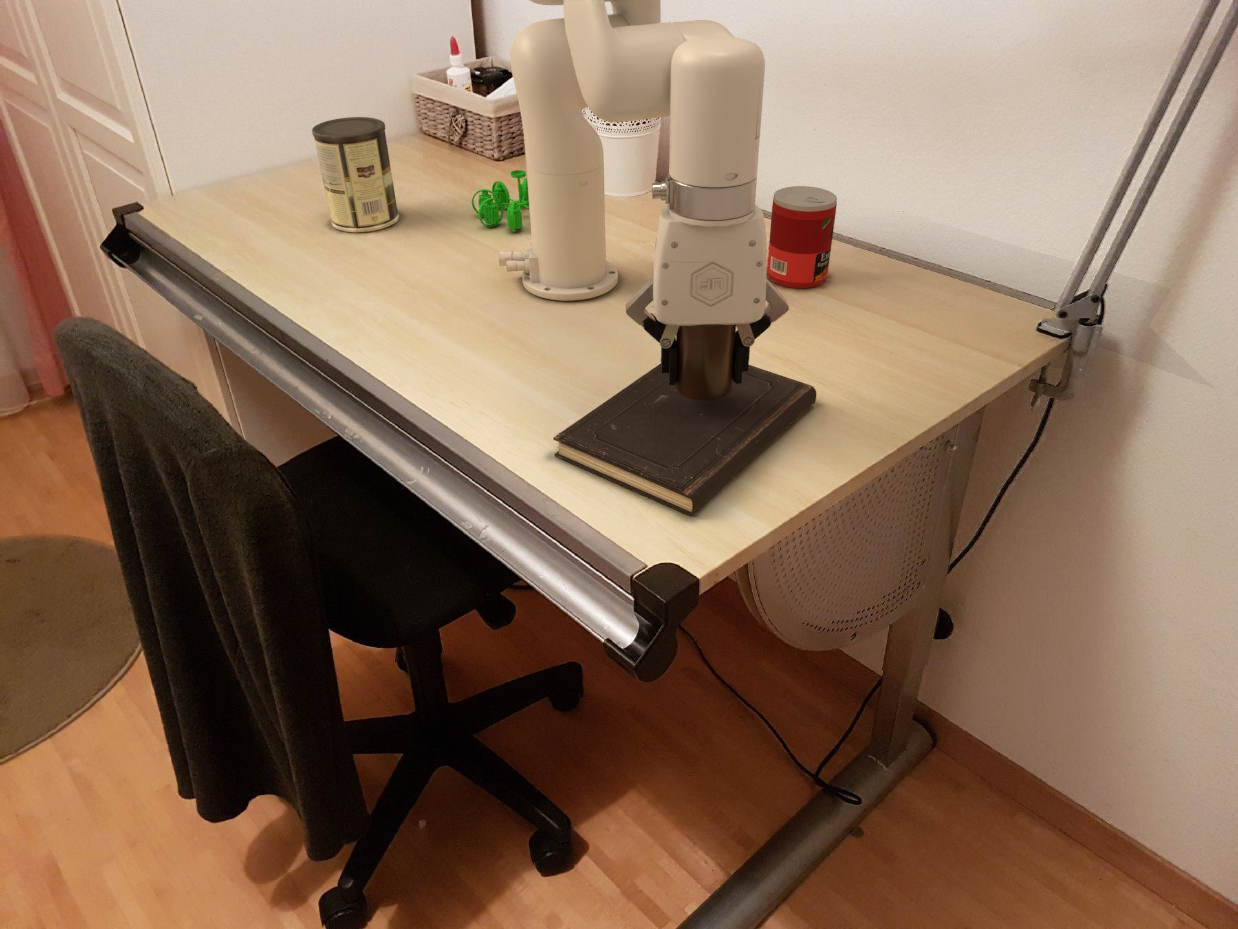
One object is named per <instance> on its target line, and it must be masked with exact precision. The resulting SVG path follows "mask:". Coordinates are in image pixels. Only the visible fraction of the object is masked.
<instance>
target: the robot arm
mask: <svg viewBox="0 0 1238 929" xmlns="http://www.w3.org/2000/svg"><path fill="white" fill-rule="evenodd" d="M529 1H530V2H532V3H534V4H536V5H541V6H563V17H559V18H550V19H545V20H540V21H539V20H538V21H536V22H532V23H530V24H528V25H526V26H525V27H523V28H522V29H521V30H519V32H518V33H516V35H515V36H514V37H513V40H512V42H511V46H510V50H509V51H510V52H509V54H510V55H509V57H510V69H511V74H512V79H513V83H514V87H515V92H516V96H517V101H518V105H519V111H520V117H521V118H520V119H521V123H522V124H521V125H522V132H523V142H524V143H523V144H524V155H525V165H526V166H525V167H526V178H527V182H528V196H529V206H528V207H529V208H528V210H529V223H530V236H531V237H530V238H531V239H530V240H531V241H530V246H529V247H528V248H523V249H522V251H513V250H499V251H498V265H499V267H506V272H509V273H511V272H522V276H521V278H522V280H521V281H522V285H523V287H524V289H525V290H526V291H528V293H530V294H532V295H534V296H536V297H538V298H543V299H545V300H551V301H562V302H563V301H564V302H569V301H572V302H574V301H583V300H589V299H593V298H596V297H600V296H602V295H604V294H607V293H609V292H610V291H611V290H613V289H614V288H615V287H616V286H617V284H618V282H619V272H618V269H617V267H616V266H615V265H614V264H612V263H611V262H609V261H608V260H607V251H606V250H607V247H606V245H607V244H606V243H607V242H606V202H605V196H606V195H605V194H606V193H605V162H604V160H605V159H604V158H605V157H604V156H605V154H604V146H603V143H602V139H601V137H600V135H599V133H598V132H597V131H596V129H595V128H594V126H593V125H592V124H590V123H589V121H588V120H587V118H585V116H584V115H583V110H584V109H585V108H588V109H589V110H590V112H591V113H592V114H593V115H594V116H595V117H597V118H598V119H599V120H602V121H604V122H607V123H626V122H635V121H636V122H637V121H645V120H651V119H659V118H666V117H669V153H668V154H669V158H668V159H669V160H668V162H669V164H668V168H669V169H668V173H667V174H668V175H667V177H665V180H663V181H660V182H654V183H652V184H651V198H652V200H660V201H664V202H665V204H666V205H664V206H663V207H662V209H661V210H660V215H659V220H658V224H657V229H656V230H657V231H656V238H655V245H654V251H653V266H652V267H653V268H652V276H651V278H650V279H648V281H646V283H645V284H644V285H643V286H642V287H641V288H640V289H639V290H638V291H637V292H636V293H635V294H634V295H633V296H632V297H631V298H630V299H629V300H628V301H627V302H626V304H625V315H626V316H628V318H630V319H632V320H633V321H634V322H635V323H636V324H638V325H640V326H641V327H642V328H643V330H644V331H645V332H646V333H647V334H649V335H650V336H651V337H652V338H653V339H654V340H655V341H656V342H658V343H659V346H660V363H661V373H668V379H669V385H675V384H677V353H678V351H677V344H676V334H677V332H678V329H679V327H680V326H694V325H713V324H722V325H736V335H735V350H734V365H733V382H735V383H736V384H741V382H742V371H748V367H749V365H750V352H751V347H752V346H753V345H754V344H755V340H757V339H758V338H759V337H760V336H762V334H763V333H765V332H766V331H767V330H768V329H769V328H770V327H771V325H772V324H773V323H774V322H777V321H778V320H779V319H780V318H782V317H783V316H784V315H785V314H787V313H788V311H789V310H790V306H789V304H788V300H787V299H786V298H785V296H783V295H782V294H781V293H780V291H778V289H777V288H776V287H775V286H774V285H773V284H772V283H771V281H769V279H768V278H767V264H768V254H767V231H766V230H767V229H766V221H765V215H764V212H763V211H762V210H761V208H760V207H759V206H758V205H756V197H757V196H756V195H757V183H758V182H757V181H758V171H759V170H758V168H759V153H760V142H761V141H760V140H761V129H762V128H761V127H762V126H761V125H762V115H763V114H762V113H763V112H762V111H763V100H764V89H765V88H764V87H765V72H766V61H765V60H766V59H765V55H764V53H763V52H764V51H762V48H761V47H760V46H759V45H757V43H755V42H753V41H751V40H748V39H745V38H740V37H735V35H734V34H733V33H731V31H730V30H729V29H728V28H727V27H725V25H723V24H721V23H720V22H718V21H713V20H708V19H695V20H684V21H675V22H673V21H672V22H671V21H670V22H662V20H661V18H662V17H661V16H662V15H661V13H662V12H661V11H662V10H661V6H662V5H661V3H662V2H661V1H662V0H529ZM608 2H609V3H610V4H611V9H612V13H611V14H610V13H609V14H608V11H607V7H606V3H608ZM651 303H652V305H653V312H654V313H652V312H649V311H648V310H647V309H646V308H647V307H648V306H649V305H650V304H651ZM766 303H767V305H766Z"/></svg>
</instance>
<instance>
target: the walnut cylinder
mask: <svg viewBox="0 0 1238 929" xmlns="http://www.w3.org/2000/svg"><path fill="white" fill-rule="evenodd" d="M736 331H737V326H736V325H722V324H713V325H694V326H680V327H679V329H678V332H677V334H676V336H675V337H676V344H677V351H678V353H677V384H675V387H676V390H677V391H678V392H679V393H680V394H681V395H683V396H685V397H687V398H690V399H694V400H703V401H707V400H715V399H719V398H722V397H724V396H726V395H727V394H729V393H730V391H731V389H732V381H733V365H734V350H735V335H736Z"/></svg>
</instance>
